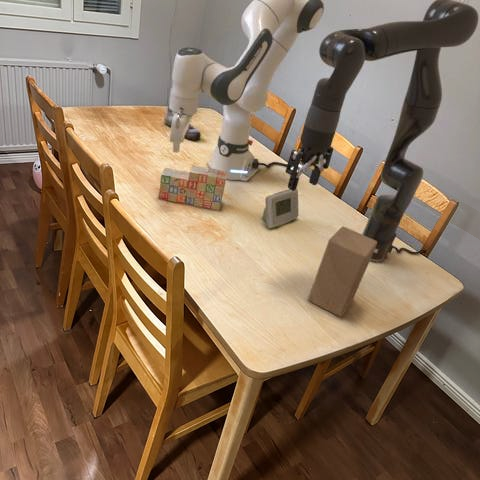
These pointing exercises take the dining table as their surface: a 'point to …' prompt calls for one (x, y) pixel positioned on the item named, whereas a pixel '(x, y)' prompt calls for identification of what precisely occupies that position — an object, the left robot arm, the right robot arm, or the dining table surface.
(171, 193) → the stack of blocks
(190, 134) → the shoe
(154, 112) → the dining table surface
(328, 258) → the wooden block
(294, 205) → the digital clock
